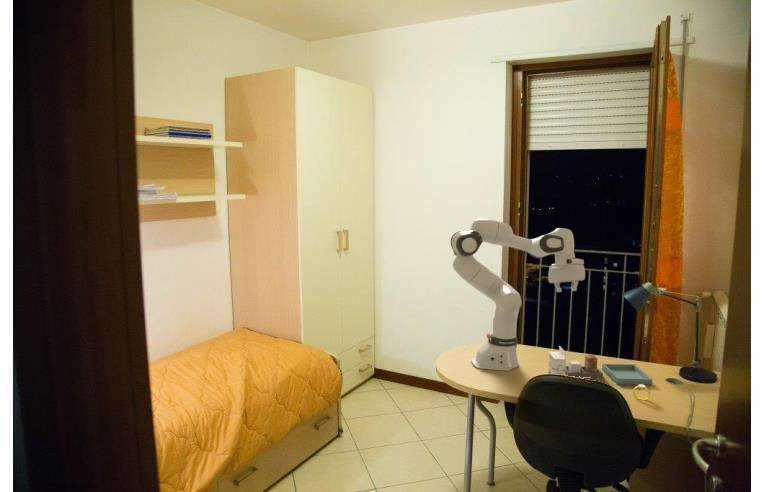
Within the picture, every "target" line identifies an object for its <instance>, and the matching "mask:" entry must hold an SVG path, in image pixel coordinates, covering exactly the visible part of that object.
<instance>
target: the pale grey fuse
mask: <svg viewBox="0 0 764 492" xmlns="http://www.w3.org/2000/svg"><path fill="white" fill-rule="evenodd" d="M568 366H569V369H568V371H569V372H580V370H581V366H582V364H581V363H580V362H579V361H578V360H568Z"/></svg>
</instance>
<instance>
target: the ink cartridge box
mask: <svg viewBox="0 0 764 492" xmlns="http://www.w3.org/2000/svg"><path fill="white" fill-rule="evenodd" d="M558 348H559V349H558V350H559V351H549V353H548V355H549V356H548V374H558V375H565V369H566V366H567V355H566V351H565V350H564V349H563V348H562V346H560V345H559V346H558ZM548 374H547V375H548ZM565 376H566V375H565Z"/></svg>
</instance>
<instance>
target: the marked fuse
mask: <svg viewBox="0 0 764 492" xmlns="http://www.w3.org/2000/svg"><path fill="white" fill-rule="evenodd" d="M584 355H585V356H584V366H585V368H584V371H585V372H586V373H597V368H598V357H597V355H595V354H584Z"/></svg>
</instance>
